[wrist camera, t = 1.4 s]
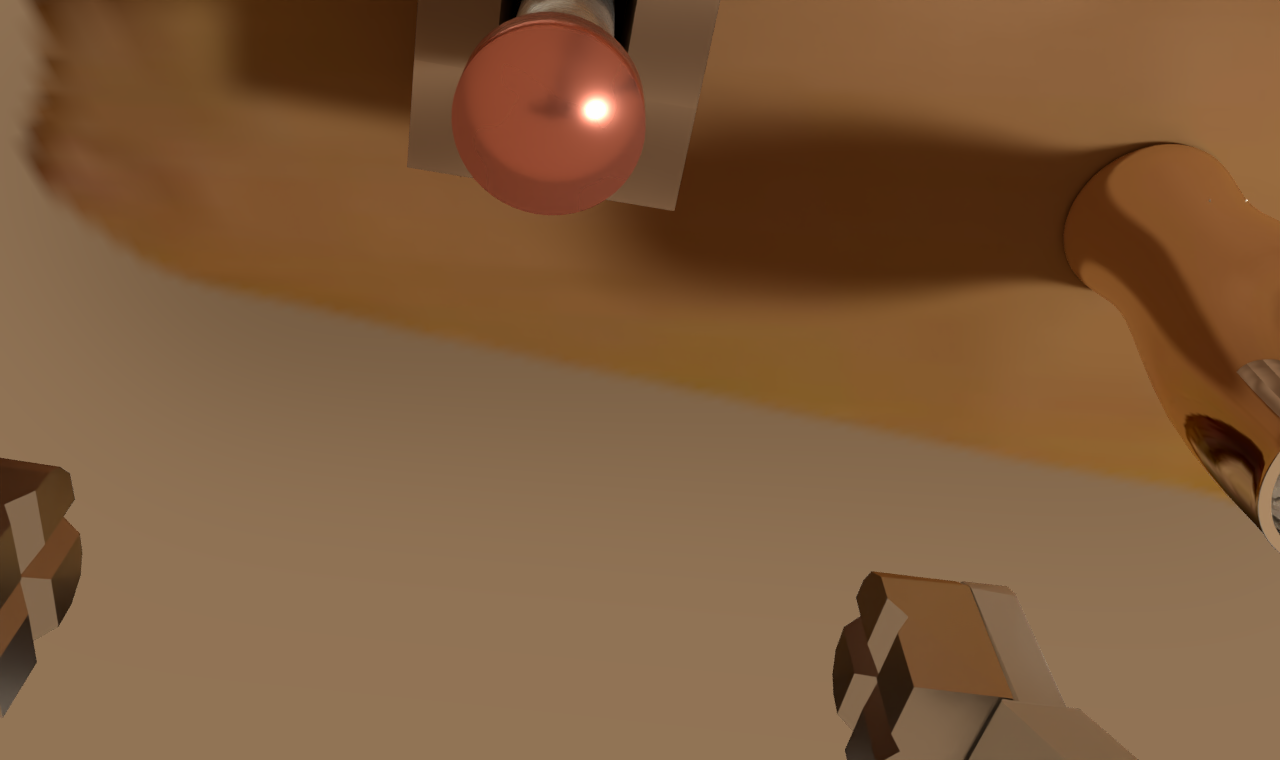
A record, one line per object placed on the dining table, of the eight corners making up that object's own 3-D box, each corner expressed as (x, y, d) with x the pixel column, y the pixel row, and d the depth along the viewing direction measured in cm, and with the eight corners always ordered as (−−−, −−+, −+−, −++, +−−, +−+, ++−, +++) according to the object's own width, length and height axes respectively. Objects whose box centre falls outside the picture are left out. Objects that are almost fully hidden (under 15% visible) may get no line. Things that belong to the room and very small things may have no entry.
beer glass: (1238, 280, 40) (1517, 551, 28) (1053, 320, 41) (1241, 600, 28) (1250, 108, 36) (1580, 332, 24) (1046, 156, 37) (1261, 396, 25)
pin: (520, -110, 32) (460, 10, 20) (648, -85, 33) (662, 46, 21) (505, 21, 34) (443, 199, 22) (625, 43, 35) (627, 228, 23)
